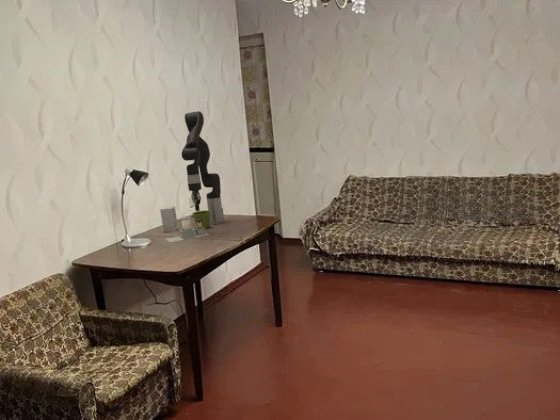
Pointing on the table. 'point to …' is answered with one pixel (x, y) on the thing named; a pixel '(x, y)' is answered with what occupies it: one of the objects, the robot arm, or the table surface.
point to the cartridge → (185, 223)
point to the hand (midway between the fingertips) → (197, 210)
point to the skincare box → (169, 219)
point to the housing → (189, 234)
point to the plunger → (199, 223)
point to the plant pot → (203, 217)
